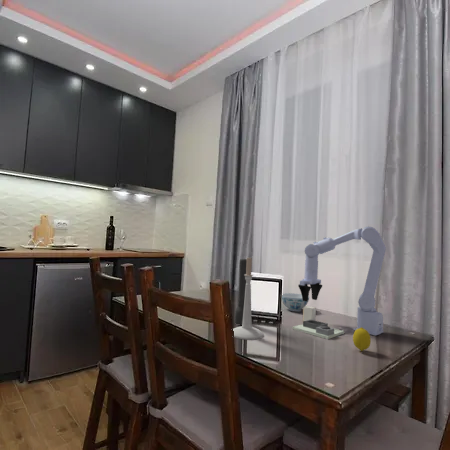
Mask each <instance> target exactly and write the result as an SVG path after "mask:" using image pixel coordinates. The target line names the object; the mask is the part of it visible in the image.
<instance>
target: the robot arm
mask: <svg viewBox="0 0 450 450" xmlns="http://www.w3.org/2000/svg"><path fill="white" fill-rule="evenodd" d="M352 240H357V241H358V240H360V241H361V240H364V242H365V243H367V244H369V247H370V248H371V249H372V250H373V251H372V255H371V260H370V264H369V268H368V271H367V276H366V280H365V283H364V287H363V290H362V293H361V294H360V295H359V298H358V301H357V302H358V304H357V305H359V306H358V307H357V322H356V323H357V324H356V325H357V326H356V328H353V329H352V330H353V331H355V330H357V329H359V328H361V327H362V328H364V329H365V330H367V331H368V333H369V335H370V336H371V335H372V336H378V335H381V334H383V333H384V316H383V313H382V312H380V311H379V312H378V311H377V308H375V307H376V306H375V305H376V298H375V296H376V290H377V287H378V284H379V283H378V282H379V279H380V276H381V275H380V274H381V270H382V266H383V262H384V257H385V254H386V250H387V247H386V245H385V242H384V240H383V238H382V236H381V234H380V232H378V230H377V229H376V228H375V227H373V226H369V225H368V226H364V227H363V228H356V229H353V230H351V231H349V232H346V233H344V234H342V235H339V236H337V237H335V238H331V237H327V236H326V237H325V236H324V237H323V239H321V240H319V241H314V242H313V243H310V244H307V245H306V246H305V247H304V254H305V260H304V261H305V262H304V278H302V279H301V280H299V284H298V288H299V291H300V294H302V299H303V301H306V302H307V301H308V296H309V297H310V292H311V299H312V300H315V301H317V300H318V298H319V295H320V292H321V289H322V288H323V284H322V279H318V275H319V274H318V273H319V272H318V269H319V255H323V254H325V253H328V252H330V251H333V250H335V248H336V246H338V245H340V244H345V243H346V242H349V241H352ZM309 285H310V286H309ZM308 302H309V301H308Z"/></svg>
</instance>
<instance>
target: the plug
mask: <svg viewBox="0 0 450 450" xmlns="http://www.w3.org/2000/svg"><path fill="white" fill-rule="evenodd" d="M316 309H317V307H314V306H308V305H306V306H305V307H304V308H302V322H303V321H307V320H315V321H317V320H316V317H317V316H316V313H317V312H316V311H317V310H316Z"/></svg>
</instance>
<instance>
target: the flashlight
mask: <svg viewBox="0 0 450 450" xmlns="http://www.w3.org/2000/svg"><path fill="white" fill-rule="evenodd" d="M246 265H247V258H240V259H239V274H238V275H239V278H238V299H237V307H236V308H235V312H234V324H235V323H236V324H240V325H242V323H243V312H244V300H245V288H246V279H245V275H246ZM236 324H235V325H236ZM240 325H239V326H240Z"/></svg>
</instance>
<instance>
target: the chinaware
mask: <svg viewBox="0 0 450 450" xmlns="http://www.w3.org/2000/svg"><path fill="white" fill-rule="evenodd" d="M282 294H283V295H282V298H281V302H282V303H283V305H285V307H286V308H287V309H288V311H291V312H301V311H302V310H303V308H304V307H305V306H308V305H307V304H308V303H309V301H310V295H309V296H308V301H307V302H306V301H303V299H302V294H301V293H291V292H290V293H289V292H288V293H286V292H285V293H282Z"/></svg>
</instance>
